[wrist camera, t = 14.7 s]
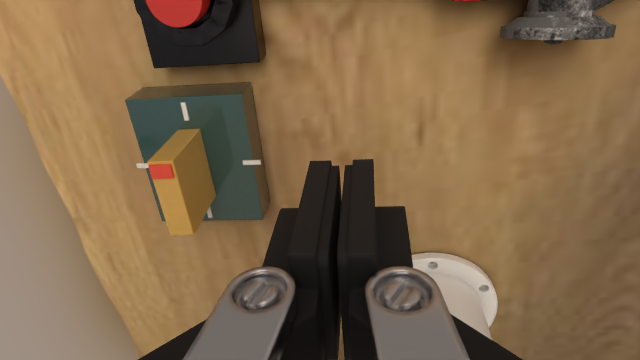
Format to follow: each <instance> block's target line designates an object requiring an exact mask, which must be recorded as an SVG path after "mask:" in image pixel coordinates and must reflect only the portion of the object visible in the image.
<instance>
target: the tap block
mask: <svg viewBox="0 0 640 360" xmlns="http://www.w3.org/2000/svg"><path fill="white" fill-rule="evenodd" d="M125 101H126V105H127V108H128V111H129V114H130V118H131V121H132V124H133V127H134V131H135V134H136V137H137V140H138V144H139V147H140V150H141V154H142V157H143V160H144V163H137V164H136V165H137V168H146V170H147V173H148V176H149V180H150V183H151V186H152V190H153V193H154V196H155V199H156V203H157V206H158V209H159V212H160V216H161V219H162V221H166V220H165V217H164V214H163V211H162V208H161V205H160V201H159V198H158V195H157V192H156V189H155V186H154V183H153V179H152V177H151V174H150V171H149V167H148V164H147V162H148V161H149V160H150V159H151V157H152V156H153V155H154V154H155V153H156V152H157V151H158V150H159V149H160V148H161V147H162V146H163V145H164V144H165V143H166V142H167V141H168V140H169V139H170V138H171V137H172V135H173V134H174V133H175V132H176V131H177V130H182V129H200V131H201V135H202V139H203V143H204V147H205V151H206V155H207V160H208V164H209V168H210V172H211V176H212V180H213V185H214V189H215V193H216V197H215V199H214V200H213V202H212V204H211V206H210V207H209V209H208V211H207V213H206V214H205V216H204V218H203V220H263V218H264V215H265V213H266V210H267V207H268V204H269V202H270V200H269V193H268V187H267V181H266V174H265V168H264V162H263V155H262V149H261V143H260V137H259V130H258V124H257V118H256V111H255V105H254V99H253V93H252V86H251V82H242V83H223V84H204V85H185V86H166V87H147V88H142V89H140V90H139V91H137V92H136V93H134V94H133V95H132V96H130V97H129V98H127V99H126V100H125ZM203 220H202V221H203Z"/></svg>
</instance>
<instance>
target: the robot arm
mask: <svg viewBox="0 0 640 360" xmlns="http://www.w3.org/2000/svg"><path fill="white" fill-rule="evenodd" d="M497 304H498V300H497V296H496V292H495V289H494V287H493V284H492V282H491V280H490V279H489V277H488V276H487V275H486V273H485V272H484V271H483V270H481V269H480V268H479V267H478V266H477V265H475V264H473V263H472V262H470V261H468V260H466V259H464V258H461V257H458V256H455V255H450V254H445V253H429V252H428V253H420V254H414V255H411V248H410V240H409V233H408V226H407V219H406V212H405V207H404V206H395V207H375V196H374V163H373V159H365V160H353V165H345V171H344V182H343V193H342V200H341V185H340V170H339V166H332V163H331V161H310V164H309V168H308V172H307V176H306V180H305V184H304V189H303V193H302V197H301V201H300V205H299V208H282V209H281V210H280V212H279V215H278V218H277V221H276V224H275V227H274V231H273V234H272V237H271V240H270V244H269V247H268V250H267V253H266V256H265V260H264V263H263V266H262V267H257V268H253V269H250V270H247V271H245V272H243V273H241V274H239V275H238V276H237V277H235V278H234V279H233V280H232V281H231V282H230V283H229V285H228V286H227V287H226V289H225V291H224V292H223V294H222V296H221V297H220V299H219V301H218V302H217V304H216V306H215V307H214V309H213V311H212V312H211V314H210V315H209V317H208V319H206V320H205V321H203V322H201V323H200V324H198V325H196V326H194V327H193V328H191V329H189V330H188V331H186V332H184V333H183V334H181V335H179V336H177V337H176V338H174V339H172V340H171V341H169V342H167V343H166V344H164V345H162V346H160V347H159V348H157V349H155V350H154V351H152V352H150V353H149V354H147V355H145V356H143V357H142V358H140V359H138V360H338V351H339V336H340V321H341V318H342V331H343V344H344V357H345V360H522V359H521V358H519V357H518V356H516V355H514V354H513V353H511V352H510V351H508V350H507V349H505V348H503V347H502V346H500V345H499V344H497V343H496V342H494V341H493V340H492V337H491V334H490V331H489V327H490V326H491V324H492V322H493V321H494V319H495V316H496V312H497Z"/></svg>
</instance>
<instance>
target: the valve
mask: <svg viewBox="0 0 640 360" xmlns="http://www.w3.org/2000/svg"><path fill="white" fill-rule="evenodd" d="M454 1H479V0H454ZM613 1H614V0H528V5H527V12H524V13H523V17H517V18H516V19H515V20H513V21H512V22H511V23H509V24H508V25H506V26H501V32H500V37H501V38H508V39H526V40H543V41H545V42H546V43H548V44H559V43H561V42H563V41H564V40H590V39H606V38H613V37H614V34H615V29H616V25H610V24H609V23H607V22H606V21H605V20H604V19H603V18H602V17H601V16H594V13H595V11H596V10H598V9H599V8H601V7H603V6H605V5H607V4H609V3H611V2H613Z"/></svg>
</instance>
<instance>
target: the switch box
mask: <svg viewBox="0 0 640 360" xmlns="http://www.w3.org/2000/svg"><path fill="white" fill-rule="evenodd" d="M134 3H135V7H136V11H137V13H138V14H139V15H140V17H141V20H142V24H143V28H144V31H145V35H146V39H147V43H148V47H149V50H150V54H151V58H152V62H153V66H154V68H166V67H183V66H201V65H218V64H235V63H252V62H260V61H261V60H262V59H263V58H264V56H265V55H266V51H265V44H264V37H263V29H262V22H261V15H260V7H259V0H210V5H209V8H208V11H207V12H206V14H205V15H204V16H203V17H202V18H201V19H199V20H198V21H196V22H194V23H192V24H190V25H188V26H185V27H171V26H168V25H166V24H164V23H162V22H161V21H159V20H158V19H157V18H156V17H155V16H154V15H153V14H152V12H151V11H150V9H149V7H148V5H147V3H146V0H134Z"/></svg>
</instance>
